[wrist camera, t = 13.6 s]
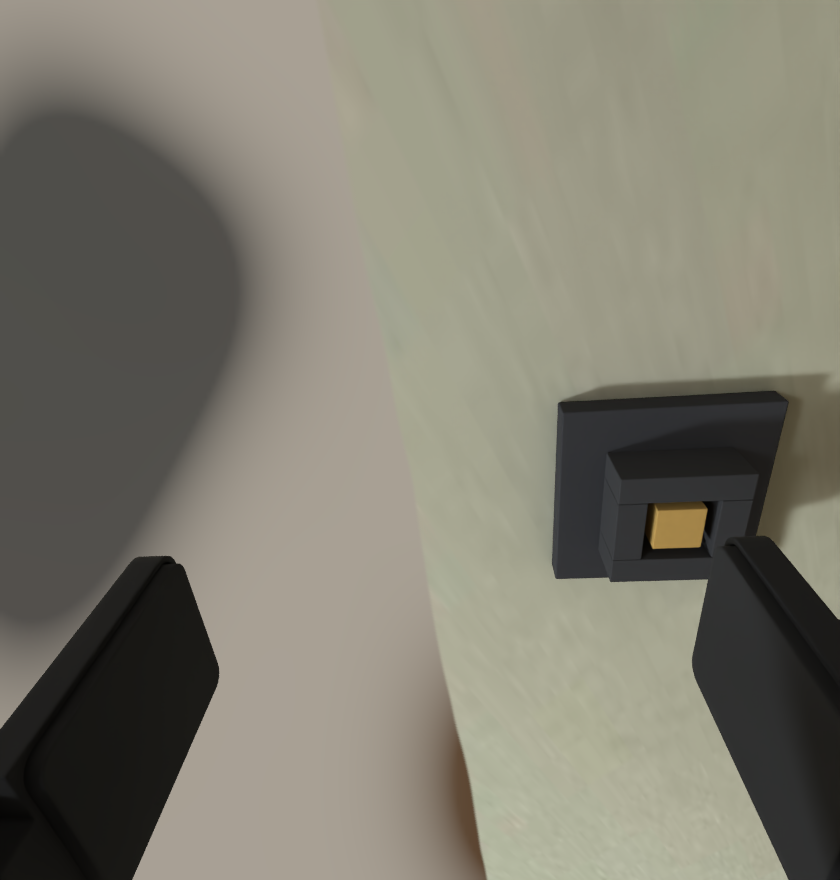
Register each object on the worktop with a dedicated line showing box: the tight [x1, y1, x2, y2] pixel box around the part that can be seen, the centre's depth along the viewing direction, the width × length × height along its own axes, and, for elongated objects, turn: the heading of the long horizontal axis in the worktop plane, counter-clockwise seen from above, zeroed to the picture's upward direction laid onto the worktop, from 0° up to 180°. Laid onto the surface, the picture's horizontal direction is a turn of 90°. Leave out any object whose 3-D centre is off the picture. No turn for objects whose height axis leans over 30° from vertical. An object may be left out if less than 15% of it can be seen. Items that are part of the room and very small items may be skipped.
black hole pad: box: [598, 447, 759, 582], centre depth 32 cm, size 7×7×3 cm
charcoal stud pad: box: [552, 391, 789, 579], centre depth 32 cm, size 12×12×4 cm
